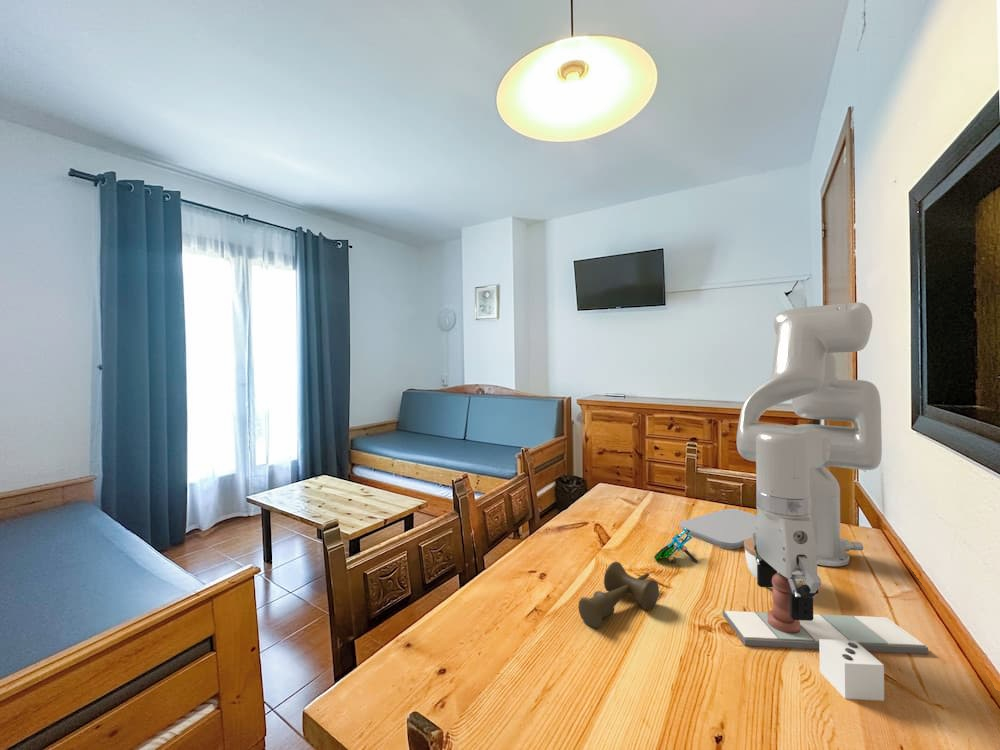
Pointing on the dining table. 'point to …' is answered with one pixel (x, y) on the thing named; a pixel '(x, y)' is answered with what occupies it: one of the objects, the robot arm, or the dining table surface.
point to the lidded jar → (751, 558)
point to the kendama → (617, 594)
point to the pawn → (782, 607)
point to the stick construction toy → (668, 549)
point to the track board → (825, 632)
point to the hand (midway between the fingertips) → (783, 601)
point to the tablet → (722, 527)
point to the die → (851, 669)
